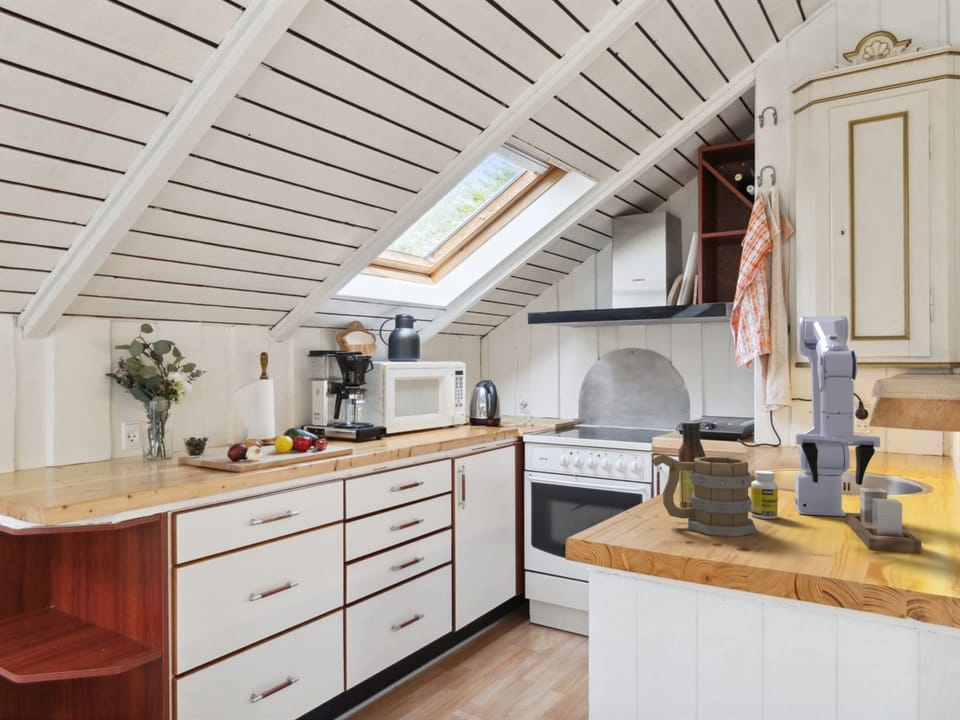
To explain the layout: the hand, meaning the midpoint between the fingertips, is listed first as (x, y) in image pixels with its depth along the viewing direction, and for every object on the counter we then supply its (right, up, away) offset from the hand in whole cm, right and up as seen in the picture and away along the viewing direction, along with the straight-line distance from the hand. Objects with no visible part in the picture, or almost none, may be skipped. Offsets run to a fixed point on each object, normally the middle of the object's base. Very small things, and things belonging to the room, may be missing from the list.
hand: (836, 482), depth 136 cm
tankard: (-24, -11, +8) cm, 27 cm away
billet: (+7, -11, -5) cm, 13 cm away
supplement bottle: (-7, -11, +17) cm, 21 cm away
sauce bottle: (-20, -11, +25) cm, 34 cm away
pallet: (+8, -10, 0) cm, 13 cm away
